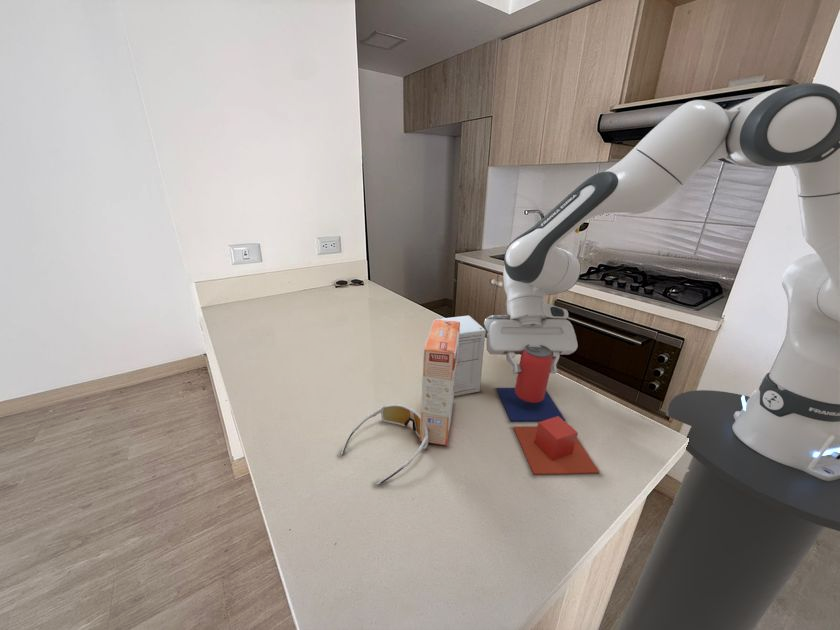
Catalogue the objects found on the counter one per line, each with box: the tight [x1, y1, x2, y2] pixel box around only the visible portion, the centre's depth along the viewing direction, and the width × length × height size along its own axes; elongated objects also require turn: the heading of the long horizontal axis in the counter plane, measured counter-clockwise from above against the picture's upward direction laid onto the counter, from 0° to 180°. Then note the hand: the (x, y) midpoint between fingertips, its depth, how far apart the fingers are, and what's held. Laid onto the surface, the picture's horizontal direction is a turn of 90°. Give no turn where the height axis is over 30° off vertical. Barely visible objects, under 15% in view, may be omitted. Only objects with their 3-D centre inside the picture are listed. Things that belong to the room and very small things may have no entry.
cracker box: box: [419, 319, 460, 446], centre depth 69 cm, size 14×6×21 cm, turn 170°
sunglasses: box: [340, 403, 429, 485], centre depth 65 cm, size 14×15×5 cm
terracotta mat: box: [513, 426, 600, 476], centre depth 66 cm, size 12×12×1 cm
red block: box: [535, 416, 579, 460], centre depth 65 cm, size 5×5×5 cm
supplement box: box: [434, 314, 487, 397], centre depth 82 cm, size 10×9×17 cm
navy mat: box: [496, 387, 566, 423], centre depth 79 cm, size 12×12×1 cm
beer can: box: [514, 345, 552, 403], centre depth 76 cm, size 7×7×12 cm
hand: (535, 373), depth 75 cm, fingers closed on beer can, 6 cm apart
